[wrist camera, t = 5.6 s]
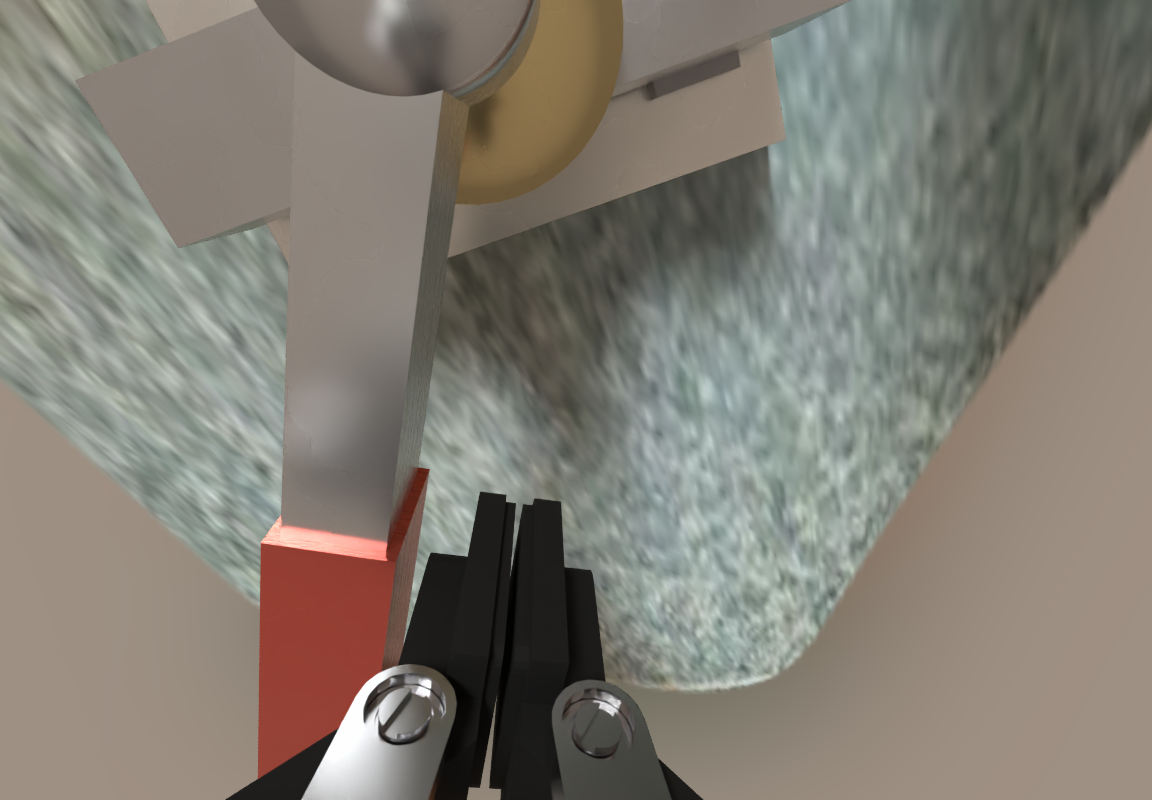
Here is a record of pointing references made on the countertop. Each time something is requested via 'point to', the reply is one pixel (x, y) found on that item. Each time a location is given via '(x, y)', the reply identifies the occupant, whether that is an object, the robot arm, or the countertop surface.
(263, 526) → the countertop surface
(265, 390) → the countertop surface
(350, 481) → the valve lever
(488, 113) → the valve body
